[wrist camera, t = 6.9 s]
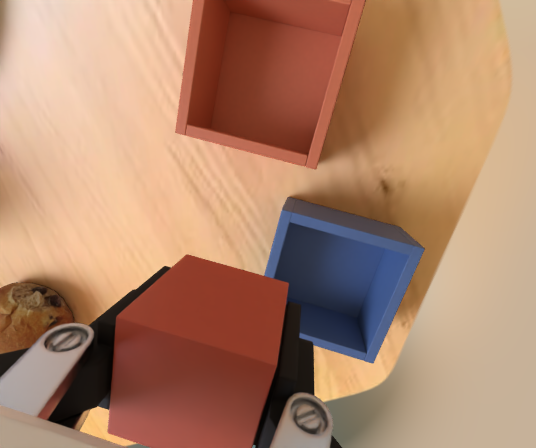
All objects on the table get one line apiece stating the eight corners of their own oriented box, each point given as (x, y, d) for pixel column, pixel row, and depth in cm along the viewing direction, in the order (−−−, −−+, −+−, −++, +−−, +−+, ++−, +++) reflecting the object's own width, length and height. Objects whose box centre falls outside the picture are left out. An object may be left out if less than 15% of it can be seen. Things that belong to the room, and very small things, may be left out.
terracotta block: (289, 282, 11) (277, 365, 7) (265, 366, 12) (242, 479, 8) (186, 253, 11) (115, 316, 7) (173, 338, 13) (106, 433, 9)
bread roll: (28, 275, 37) (-55, 312, 31) (47, 266, 31) (-52, 311, 25) (67, 335, 39) (-4, 381, 33) (93, 338, 33) (11, 396, 27)
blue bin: (400, 227, 25) (425, 248, 20) (361, 322, 28) (373, 364, 23) (287, 196, 26) (282, 209, 20) (261, 292, 29) (250, 325, 23)
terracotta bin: (353, 30, 21) (368, -8, 16) (314, 164, 25) (316, 169, 19) (225, 2, 22) (198, -44, 17) (203, 135, 25) (174, 132, 20)
